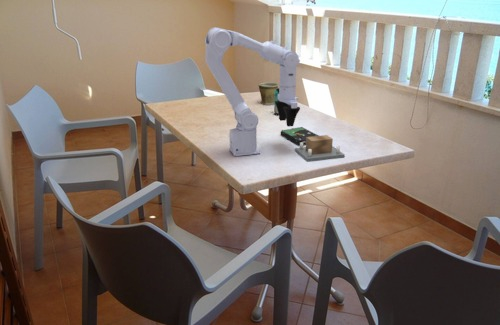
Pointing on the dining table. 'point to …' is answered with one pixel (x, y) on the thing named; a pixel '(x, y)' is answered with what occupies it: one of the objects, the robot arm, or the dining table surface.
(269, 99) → the olive green plant pot
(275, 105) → the beverage can
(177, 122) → the dining table surface
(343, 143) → the dining table surface
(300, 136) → the disk drive
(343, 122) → the dining table surface
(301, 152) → the standoff plate
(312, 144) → the walnut block
